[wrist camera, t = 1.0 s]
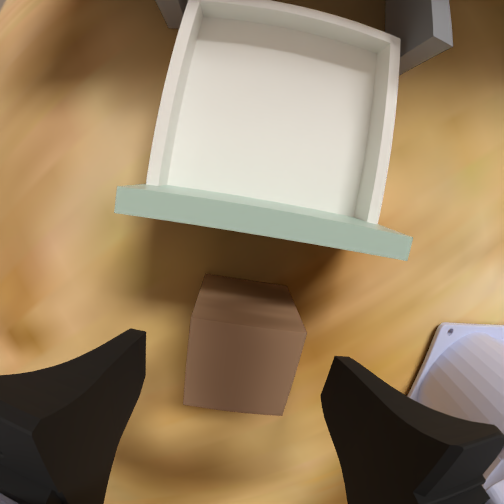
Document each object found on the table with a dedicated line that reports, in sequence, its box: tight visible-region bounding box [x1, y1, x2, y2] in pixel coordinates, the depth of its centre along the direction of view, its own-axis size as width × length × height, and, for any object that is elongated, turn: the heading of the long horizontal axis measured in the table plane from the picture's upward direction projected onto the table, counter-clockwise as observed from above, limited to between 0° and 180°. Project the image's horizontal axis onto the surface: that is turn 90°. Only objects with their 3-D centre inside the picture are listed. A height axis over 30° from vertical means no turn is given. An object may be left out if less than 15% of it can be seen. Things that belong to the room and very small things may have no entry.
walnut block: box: [183, 274, 307, 416], centre depth 13 cm, size 4×4×5 cm
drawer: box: [114, 0, 413, 261], centre depth 10 cm, size 9×9×5 cm
